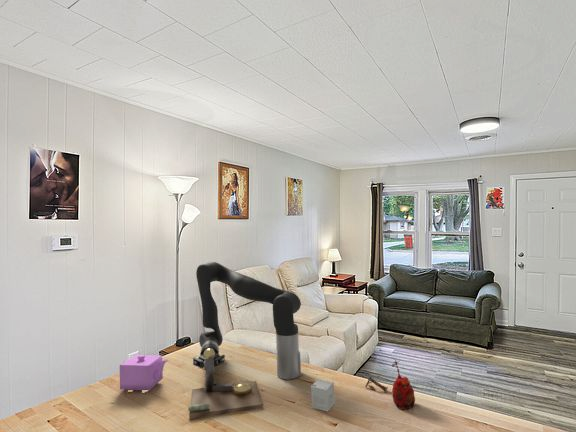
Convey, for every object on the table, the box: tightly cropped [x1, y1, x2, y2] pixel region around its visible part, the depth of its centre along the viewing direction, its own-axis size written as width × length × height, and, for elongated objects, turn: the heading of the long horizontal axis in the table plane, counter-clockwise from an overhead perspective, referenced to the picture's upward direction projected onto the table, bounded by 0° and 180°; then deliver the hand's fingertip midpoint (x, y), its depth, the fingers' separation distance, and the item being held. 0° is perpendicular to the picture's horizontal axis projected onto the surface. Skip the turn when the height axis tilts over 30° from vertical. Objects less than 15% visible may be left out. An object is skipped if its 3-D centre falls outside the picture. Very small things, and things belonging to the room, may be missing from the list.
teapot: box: [119, 354, 170, 391], centre depth 135 cm, size 20×10×12 cm, turn 82°
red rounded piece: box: [391, 358, 416, 411], centre depth 116 cm, size 8×7×15 cm
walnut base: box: [188, 380, 264, 420], centre depth 123 cm, size 24×18×3 cm
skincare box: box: [310, 379, 336, 413], centre depth 118 cm, size 6×6×7 cm
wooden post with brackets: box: [365, 375, 389, 394], centre depth 128 cm, size 2×8×4 cm, turn 62°
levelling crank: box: [204, 348, 252, 396], centre depth 127 cm, size 18×7×15 cm, turn 84°
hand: (208, 368), depth 129 cm, fingers closed
